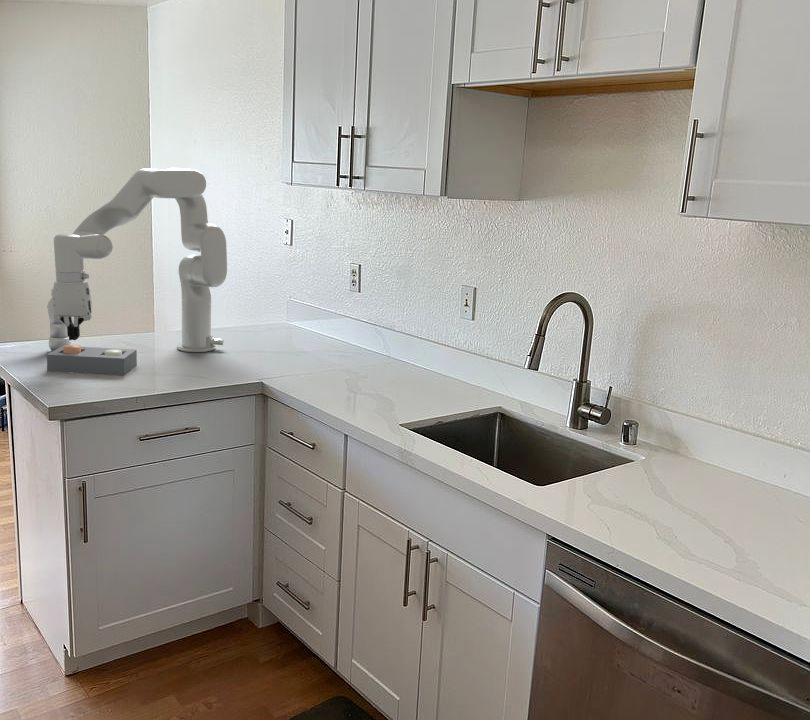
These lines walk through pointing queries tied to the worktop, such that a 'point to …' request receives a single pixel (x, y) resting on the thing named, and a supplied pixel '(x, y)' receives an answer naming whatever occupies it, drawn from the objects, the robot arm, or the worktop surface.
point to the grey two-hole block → (92, 361)
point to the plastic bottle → (56, 330)
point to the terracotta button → (72, 349)
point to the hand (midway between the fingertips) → (73, 339)
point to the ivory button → (113, 352)
